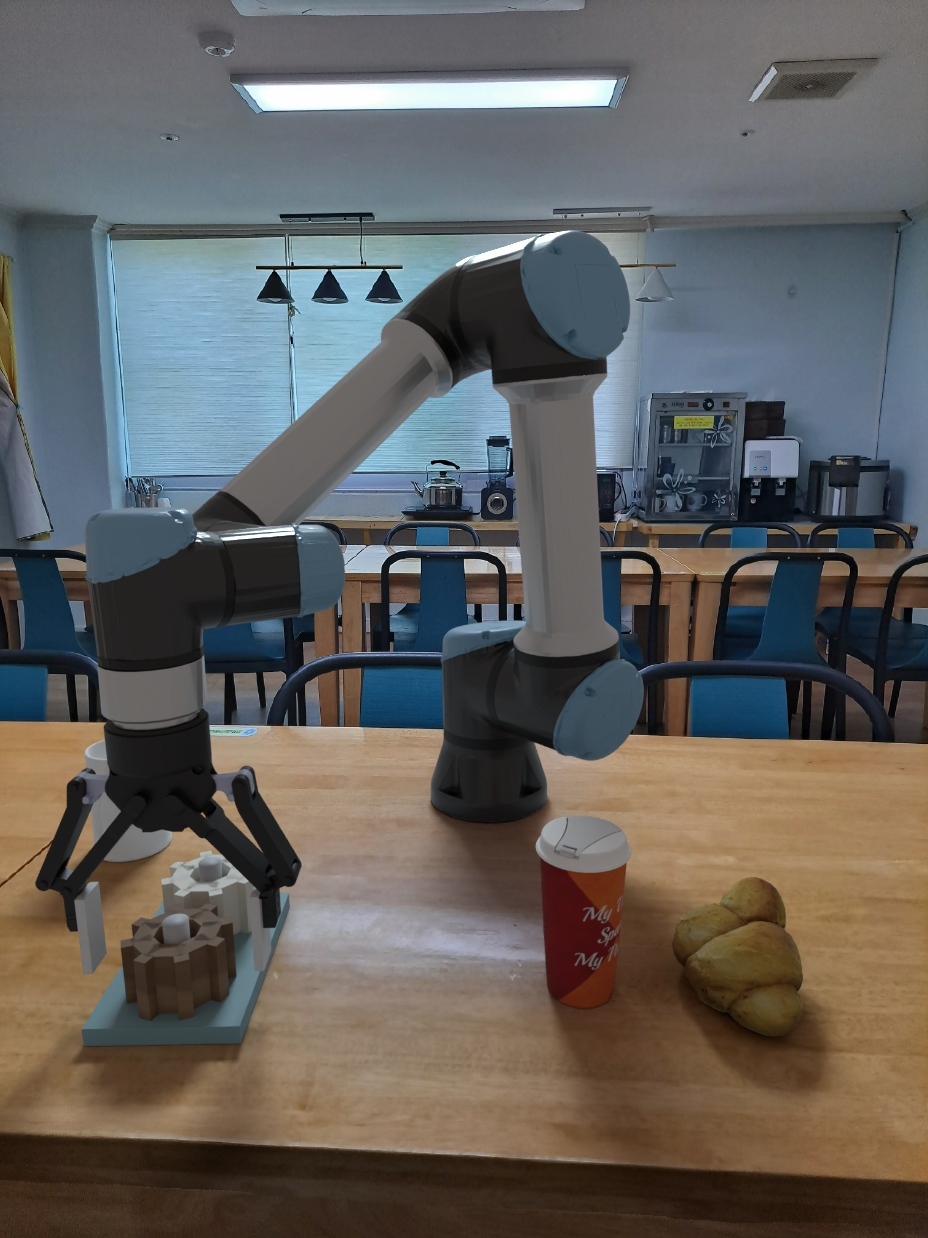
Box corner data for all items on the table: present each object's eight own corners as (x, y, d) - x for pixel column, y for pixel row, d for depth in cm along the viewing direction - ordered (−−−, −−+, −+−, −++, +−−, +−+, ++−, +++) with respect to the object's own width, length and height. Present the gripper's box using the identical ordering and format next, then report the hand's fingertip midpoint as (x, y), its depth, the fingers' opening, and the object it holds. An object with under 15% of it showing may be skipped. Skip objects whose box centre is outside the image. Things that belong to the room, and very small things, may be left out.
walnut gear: (245, 954, 70) (241, 902, 69) (218, 1020, 62) (214, 962, 61) (150, 956, 70) (145, 904, 69) (111, 1022, 62) (104, 964, 61)
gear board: (289, 906, 80) (285, 836, 79) (241, 1043, 62) (234, 956, 60) (168, 908, 80) (162, 838, 79) (83, 1046, 62) (73, 958, 60)
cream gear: (268, 896, 79) (265, 849, 78) (247, 947, 71) (244, 895, 70) (184, 897, 79) (180, 851, 78) (154, 948, 71) (148, 897, 70)
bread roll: (827, 1051, 61) (836, 956, 59) (697, 1050, 61) (703, 955, 59) (769, 948, 73) (775, 867, 72) (661, 947, 73) (665, 866, 72)
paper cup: (605, 1031, 63) (610, 866, 60) (518, 996, 67) (519, 841, 64) (640, 976, 69) (646, 825, 66) (559, 948, 73) (561, 804, 70)
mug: (133, 880, 86) (122, 774, 83) (58, 875, 87) (46, 770, 84) (185, 829, 97) (177, 734, 95) (119, 825, 98) (109, 732, 96)
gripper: (328, 696, 65) (339, 932, 69) (17, 700, 65) (47, 937, 69) (312, 727, 58) (325, 989, 62) (-39, 732, 57) (-1, 995, 62)
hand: (179, 962), depth 66 cm, fingers open, 13 cm apart
